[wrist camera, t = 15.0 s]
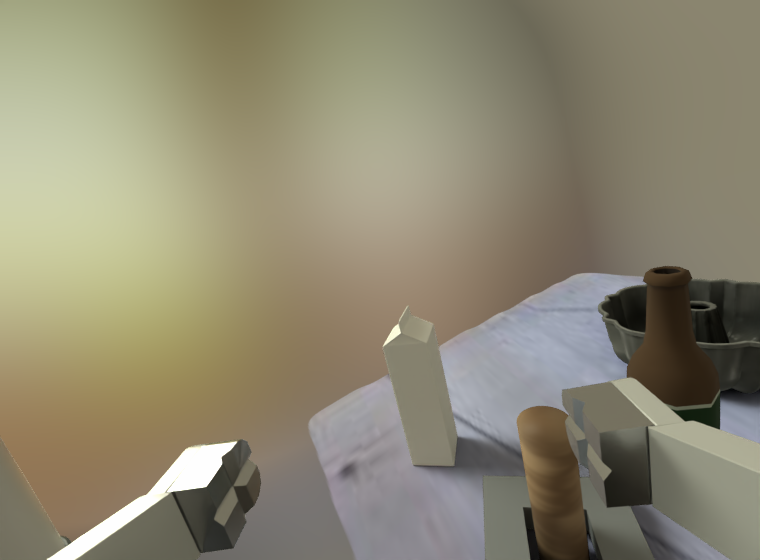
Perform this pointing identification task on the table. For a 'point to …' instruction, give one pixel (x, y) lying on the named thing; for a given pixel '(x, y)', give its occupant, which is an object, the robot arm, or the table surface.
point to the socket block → (514, 516)
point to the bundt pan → (699, 326)
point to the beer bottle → (675, 351)
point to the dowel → (553, 484)
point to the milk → (421, 391)
